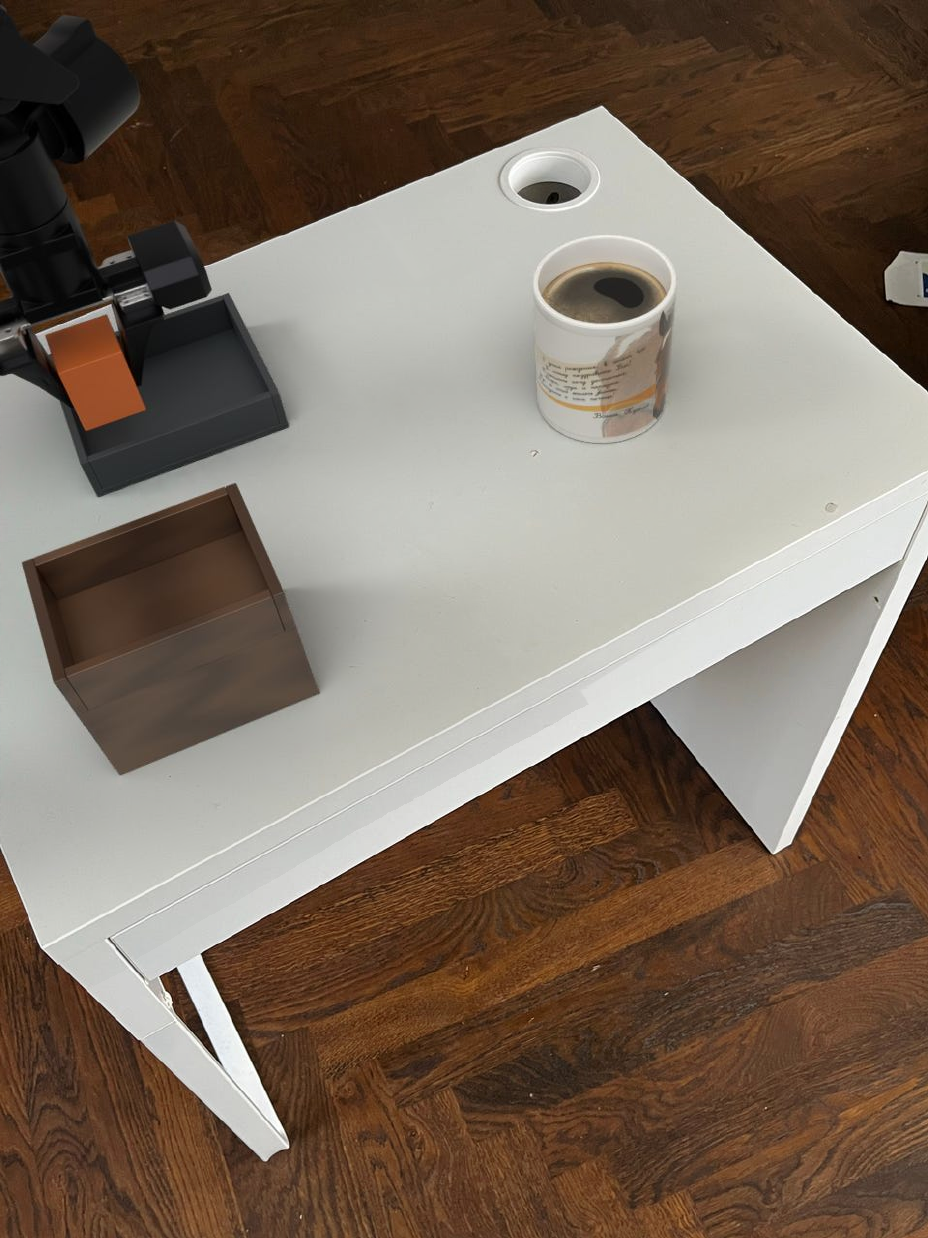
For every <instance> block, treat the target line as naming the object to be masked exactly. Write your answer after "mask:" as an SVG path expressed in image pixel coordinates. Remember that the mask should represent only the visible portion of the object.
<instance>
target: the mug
mask: <svg viewBox="0 0 928 1238" xmlns="http://www.w3.org/2000/svg"><path fill="white" fill-rule="evenodd" d="M531 286H532V312H533V335H534V356H535V359H534V360H535V361H534V362H535V377H536V378H535V381H536V400H537V406H538V408H539V413H540V414H541V416H542V418H544V420H545V421H546V422H547V424H548V425H549V426H550V427H552V428H553V429H554V430H556V431H557V432H558V433H560V434H562V435H564V436H566V437H568V438H570V439H573V440H575V441H576V440H577V441H580V442H585V443H590V444H591V443H592V444H612V443H618V442H622V441H626V440H630V439H633V438H635V437H637V436H639V435H642V434H643V433H645V432H646V431H647V430H649V429H650V428H651V427H652V426H654V425H655V424H656V423H657V421H658V420H659V419H660V417H661V416H662V415H663V413H664V411H665V409H666V407H667V402H668V397H669V395H668V393H669V383H670V374H671V373H670V372H671V360H672V349H673V348H672V347H673V335H674V326H675V315H676V314H675V312H676V301H677V290H678V275H677V271H676V269H675V267H674V264H673V263H672V261H671V259H669V257H668V256H667V255H666V254H665V253H664V252H663V251H662V250H661V249H659V248H658V247H656V246H654V245H653V244H651V243H649V242H646V241H644V240H642V239H638V238H636V237H632V236H626V235H622V234H621V235H620V234H595V235H588V236H583V237H579V238H575V239H572V240H569V241H567V242H565V243H562V244H560V245H558V247H555V248H554V249H552V250H551V251H549V252H548V253H547V254H546V255H545V256H544V257H543V258H542V259H541V261H540V262H539V264H538V265H537V267H536V268H535V271H534V273H533V276H532V284H531Z"/></svg>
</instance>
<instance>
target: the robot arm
mask: <svg viewBox="0 0 928 1238" xmlns="http://www.w3.org/2000/svg"><path fill="white" fill-rule="evenodd" d="M140 91H141V90H140V87H139V82H138V80H137V76H136V75H135V72H133V71H132V70H131V69H130V68H129V67H128V65H127V63H126V62H125V60H124V59H123V58H122V57H121V56H120V55H119V53H118V52H117V51H116V50H115V49H114V48H113V47H112V46H111V45H110V44H108V43H107V42H105V41H104V40H103V39H101V38H100V37H98V36H97V34H96V31H95V29H94V26H93V22H92V20H91V19H89V18H85V17H80V16H74V15H69V14H63V15H61V16H60V17H58V19H57V20H55V21H54V22H53V23H52V24H51V26H50V27H49V28H48V30H47V32H45V34H44V35H43V36H41V37H40V38H39V39H38V40H37V41H35V42H34V43H31V42H30V41H29V40H27V39H25V38H24V37H23V36H22V34H21V32H20V30H19V28H18V26H17V25H16V22H15V21H14V19H13V18H12V16H10V15H9V14H8V12H7V10H6V8H5V6H4V5H2V4H0V274H1V276H2V278H3V280H4V282H5V285H6V286H7V288H8V290H9V292H10V294H11V295H10V296H9V298H6V299H3V300H1V301H0V377H5V376H8V375H14V376H16V377H18V378H20V379H21V380H23V381H26V382H28V383H30V384H32V385H34V386H36V387H38V388H40V389H41V390H43V391H44V392H46V393H47V394H49V395H50V396H52V398H54V399H56V400H57V401H59V403H60V402H62V403H63V404H65V405H66V406H68V407H69V408H70V409H75V408H74V406H73V404H72V402H71V399H70V397H69V395H68V393H67V391H66V389H65V387H64V385H63V383H62V381H61V379H60V377H59V375H58V372H57V370H56V367H55V364H54V363H53V361H52V359H51V358H50V356H49V354H48V351H47V350H46V349H45V347H44V346H43V344H42V343H41V341H40V339H39V338H38V337H37V335H36V333H35V331H34V329H33V328H34V327H37V326H40V325H44V324H45V323H49V322H52V321H55V320H58V319H60V318H63V317H67V316H69V315H70V316H71V315H72V314H76V313H79V312H82V311H85V310H88V309H91V308H94V307H97V306H100V305H103V304H105V303H108V302H109V303H110V305H111V308H112V312H113V315H114V319H115V324H116V327H117V331H118V332H119V336H120V340H121V344H122V347H123V351H124V355H125V359H126V361H127V364H128V366H129V369H130V371H131V374H132V376H133V379H134V381H135V383H136V386H137V387H138V386H141V385H142V378H143V368H144V359H145V351H146V347H147V344H148V341H149V337H150V334H151V331H152V327H153V326H154V325H155V324H158V323H160V322H162V321H163V320H164V318H165V315H166V313H165V311H164V309H167V310H172V309H176V308H179V307H182V306H185V305H188V304H190V303H194V302H197V301H199V300H202V299H206V298H208V296H209V295H210V293H211V292H212V291H213V290H212V289H213V288H212V286H211V283H210V278H209V275H208V273H207V269H206V268H205V264H204V262H203V260H202V257H201V255H200V253H199V251H198V250H197V247H196V245H195V243H194V241H193V239H192V238H191V237H192V236H191V235H190V233H189V231H188V230H187V229H188V228H187V227H186V226H185V225H183V224H182V223H180V222H178V221H176V220H174V219H173V220H171V221H167V222H165V223H162V224H159V225H156V226H152V227H149V228H146V229H143V230H140V231H137V232H134V233H131V234H128V235H126V239H127V241H128V243H129V246H130V250H127V251H124V252H121V253H117V254H114V255H111V256H109V257H106V258H105V259H104V260H103V261H102V263H101V265H99V266H97V263H96V260H95V258H94V253H93V251H92V249H91V246H90V243H89V241H88V239H87V236H86V233H85V231H84V228H83V226H82V224H81V222H80V219H79V217H78V216H77V215H76V213H75V210H74V208H73V207H74V206H73V205H72V203H71V200H70V197H69V196H68V193H67V191H66V188H65V185H64V183H63V181H62V179H61V177H60V174H59V172H58V169H57V166H56V165H55V162H54V160H56V161H58V162H60V163H63V164H66V165H78V164H80V163H83V162H84V161H86V159H88V157H89V156H90V155H92V154H93V153H94V152H95V151H96V150H97V149H98V148H99V147H100V146H101V145H102V144H103V143H104V142H105V141H106V140H107V139H108V138H110V137H111V135H112V134H113V133H114V132H116V130H118V129H119V128H120V127H121V126H122V125H123V124H124V123H125V122H126V121H127V120H128V119H129V118H130V117H131V116H133V115H134V114H135V112H136V111H137V110H138V109H139V105H140V102H141V92H140ZM163 308H164V309H163Z"/></svg>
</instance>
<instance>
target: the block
mask: <svg viewBox="0 0 928 1238" xmlns="http://www.w3.org/2000/svg"><path fill="white" fill-rule="evenodd" d="M115 332H116V331H115V330H114V327H113V325H112V322H111V320H110V318H109V316H108V314H106V313H105V314H102V315H100V316H97V317H94V318H90V319H88V320H85V321H82V322H78V323H76V324H73V325H70V326H68V327H64V328H62V329H59V330H55V331H53V332H50V333H46V334H45V335H44V337H45V340H46V343H47V346H48V348H49V352H50V354H51V355H52V358H53V361H54V364H55V367H56V370H57V372H58V375H59V377H60V379H61V381H62V383H63V385H64V387H65V389H66V391H67V393H68V395H69V397H70V399H71V402H72V404H73V406H74V408H75V410H76V412H77V414H78V416H79V418H80V420H81V422H82V424H83V426H84V428H85V430H86V431H88V430H91V429H94V428H96V427H99V426H102V425H105V424H108V423H110V422H113V421H116V420H119V419H122V418H125V417H127V416H130V415H133V414H136V413H139V412H141V411H144V410H146V408H145V405H144V403H143V400H142V398H141V395H140V393H139V390H138V387H137V386H136V383H135V381H134V379H133V376H132V374H131V371H130V369H129V366H128V364H127V361H126V359H125V356H124V353H123V351H122V349H121V346H120V344H119V341H118V339H117V337H116V334H115Z"/></svg>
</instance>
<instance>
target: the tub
mask: <svg viewBox="0 0 928 1238" xmlns="http://www.w3.org/2000/svg"><path fill="white" fill-rule="evenodd" d="M114 332H115V334H116V337H117V339H118V341H119V344H120V346H121V349H122V351H123V347H122V344H121V340H120V336H119V332H118V330H116V331H114ZM123 353H124V351H123ZM48 355H49V356H50V358H51V359H52V361H53V358H52V355H51V353H49V354H48ZM124 356H125V355H124ZM53 363H54V361H53ZM138 390H139V393H140V395H141V398H142V400H143V403H144V405H145V408H146V410H144V411H141V412H139V413H136V414H133V415H130V416H127V417H125V418H122V419H119V420H116V421H113V422H110V423H108V424H105V425H102V426H99V427H96V428H94V429H91V430H88V431H86V430H85V428H84V426H83V424H82V422H81V420H80V418H79V416H78V414H77V412H76V410H75V409H70V408H69V407H68V406H66V405H65V404H63V403H62V402H60V401H59V403H60V406H61V410H62V413H63V416H64V418H65V422H66V425H67V428H68V430H69V434H70V437H71V440H72V444H73V446H74V449H75V453H76V455H77V457H78V461H79V464H80V466H81V468H82V470H83V472H84V474H85V476H86V478H87V480H88V482H89V483H90V485H91V487H92V490H93V491H94V493H95V495H96V497H97V498H100V497H102V496H105V495H107V494H110V493H113V492H116V491H119V490H122V489H124V488H126V487H129V486H133V485H134V484H137V483H140V482H143V481H145V480H148V479H152V478H153V477H157V476H159V475H162V474H164V473H167V472H170V471H173V470H175V469H178V468H181V467H184V466H187V465H189V464H192V463H195V462H197V461H200V460H203V459H205V458H208V457H211V456H215V455H216V454H219V453H222V452H225V451H228V450H230V449H233V448H236V447H238V446H241V445H244V444H246V443H247V444H248V443H250V442H252V441H255V440H257V439H261V438H263V437H266V436H269V435H271V434H274V433H276V432H279V431H282V430H285V429H287V428H289V427H290V426H289V425H290V424H289V422H288V418H287V414H286V410H285V407H284V405H283V404H284V403H283V401H282V397H281V394H280V391H279V390H278V387H277V385H276V383H275V381H274V380H273V377H272V375H271V373H270V371H269V370H268V367H267V366H266V364H265V361H264V359H263V357H262V356H261V354H260V352H259V350H258V347H257V345H256V344H255V342H254V340H253V337H252V335H251V333H250V332H249V329H248V328H247V326H246V323H245V322H244V320H243V317H242V316H241V313H240V312H239V310H238V307H237V306H236V304H235V302H234V300H233V298H232V296H231V294H230V292H227V293H223V294H222V295H218V296H215V297H213V298H209V299H206V300H204V301H201V302H198V303H194V304H192V305H189V306H186V307H183V308H180V309H177V310H175V311H172V312H169V313H165V318H164V320H163V321H162V322H160V323H158V324H155V325H154V326H153V327H152V331H151V334H150V337H149V341H148V344H147V347H146V351H145V359H144V368H143V378H142V385H141V386H138Z"/></svg>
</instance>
